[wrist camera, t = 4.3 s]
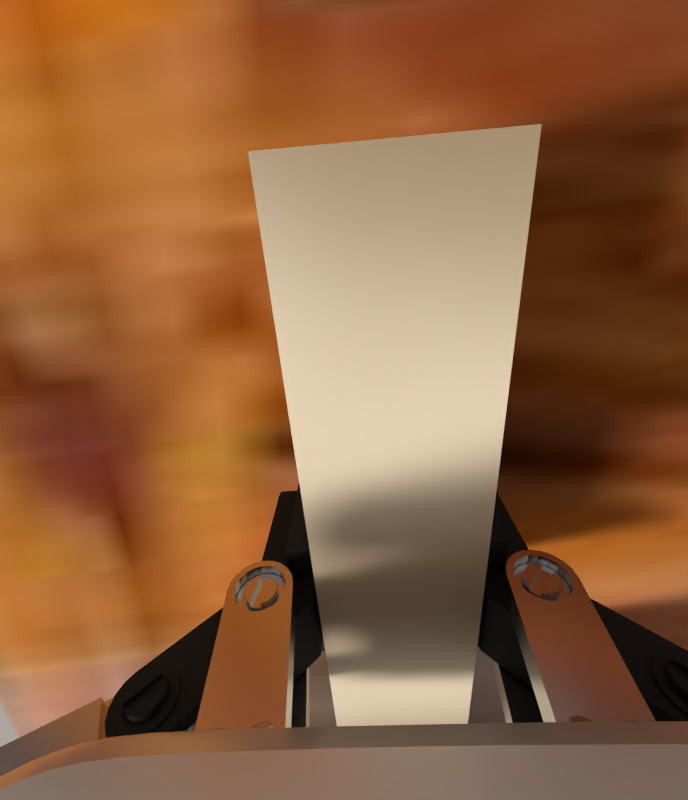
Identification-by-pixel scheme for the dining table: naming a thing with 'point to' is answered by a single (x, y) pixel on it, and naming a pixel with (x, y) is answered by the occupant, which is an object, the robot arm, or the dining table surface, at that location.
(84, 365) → the dining table surface
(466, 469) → the cream upright plaque
